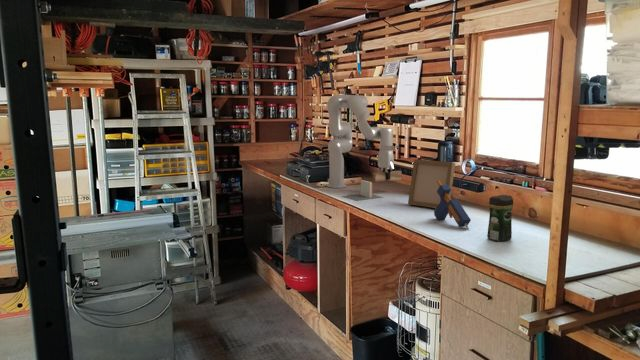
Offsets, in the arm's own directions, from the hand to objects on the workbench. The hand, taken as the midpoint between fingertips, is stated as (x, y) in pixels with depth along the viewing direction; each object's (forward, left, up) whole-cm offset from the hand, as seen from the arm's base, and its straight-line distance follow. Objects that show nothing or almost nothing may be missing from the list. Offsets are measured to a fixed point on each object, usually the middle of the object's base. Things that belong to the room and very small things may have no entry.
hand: (385, 178), depth 297 cm
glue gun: (+70, -18, -10) cm, 73 cm away
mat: (0, -17, -10) cm, 20 cm away
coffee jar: (+99, -20, -10) cm, 101 cm away
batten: (0, +1, -1) cm, 1 cm away
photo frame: (+38, +2, -10) cm, 39 cm away
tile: (0, -14, -9) cm, 17 cm away
